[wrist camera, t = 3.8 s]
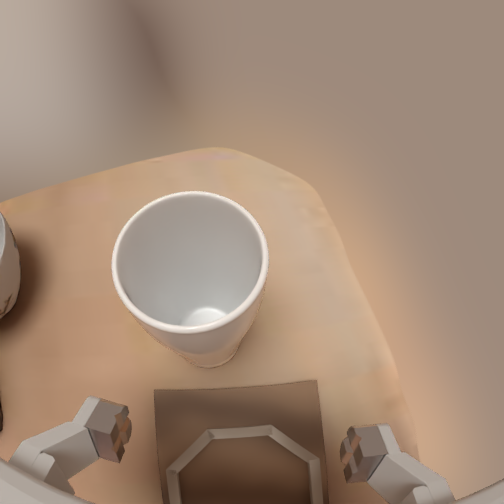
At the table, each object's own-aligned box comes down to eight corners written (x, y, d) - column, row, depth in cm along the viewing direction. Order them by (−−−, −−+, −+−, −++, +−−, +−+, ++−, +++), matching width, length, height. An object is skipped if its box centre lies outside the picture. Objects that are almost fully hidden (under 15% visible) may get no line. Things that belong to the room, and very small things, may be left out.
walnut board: (328, 570, 14) (335, 578, 13) (181, 583, 13) (179, 592, 11) (312, 381, 24) (319, 379, 22) (157, 390, 23) (151, 388, 21)
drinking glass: (240, 296, 27) (255, 181, 14) (254, 371, 24) (288, 320, 11) (165, 306, 26) (113, 198, 13) (173, 381, 23) (108, 342, 10)
